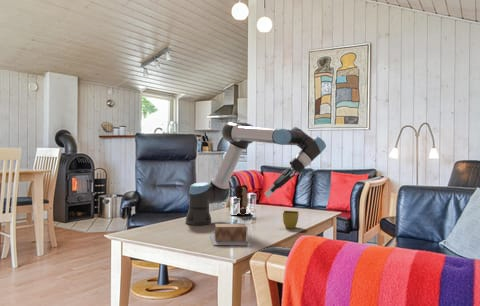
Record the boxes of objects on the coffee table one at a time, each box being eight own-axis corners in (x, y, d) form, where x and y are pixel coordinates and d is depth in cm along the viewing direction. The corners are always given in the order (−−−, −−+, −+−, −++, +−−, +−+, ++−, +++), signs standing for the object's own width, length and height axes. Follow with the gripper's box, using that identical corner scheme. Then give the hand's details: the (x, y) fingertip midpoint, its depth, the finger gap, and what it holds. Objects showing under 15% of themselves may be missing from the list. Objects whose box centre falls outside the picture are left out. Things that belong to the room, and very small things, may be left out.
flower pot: (297, 229, 215) (298, 213, 215) (282, 228, 217) (282, 212, 217) (298, 226, 224) (299, 211, 224) (283, 225, 226) (284, 210, 226)
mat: (213, 246, 174) (213, 244, 174) (210, 236, 191) (210, 235, 191) (246, 245, 176) (246, 244, 176) (240, 236, 194) (240, 235, 194)
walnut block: (247, 241, 182) (215, 241, 179) (244, 237, 189) (214, 238, 186) (247, 226, 182) (216, 226, 179) (245, 223, 189) (215, 223, 186)
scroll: (244, 217, 248) (245, 186, 247) (225, 214, 255) (226, 185, 255) (255, 214, 260) (256, 185, 260) (237, 212, 268) (238, 183, 268)
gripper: (309, 168, 183) (274, 203, 180) (300, 167, 196) (268, 199, 193) (299, 157, 182) (263, 191, 180) (291, 156, 195) (258, 188, 192)
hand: (266, 195), depth 186 cm, fingers closed
